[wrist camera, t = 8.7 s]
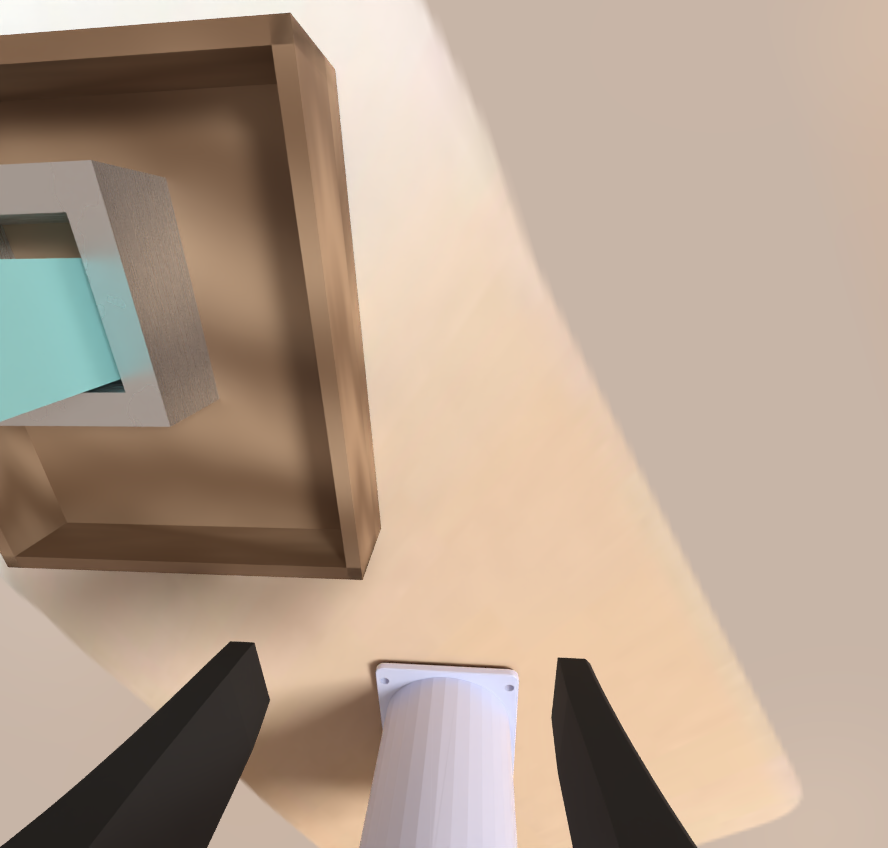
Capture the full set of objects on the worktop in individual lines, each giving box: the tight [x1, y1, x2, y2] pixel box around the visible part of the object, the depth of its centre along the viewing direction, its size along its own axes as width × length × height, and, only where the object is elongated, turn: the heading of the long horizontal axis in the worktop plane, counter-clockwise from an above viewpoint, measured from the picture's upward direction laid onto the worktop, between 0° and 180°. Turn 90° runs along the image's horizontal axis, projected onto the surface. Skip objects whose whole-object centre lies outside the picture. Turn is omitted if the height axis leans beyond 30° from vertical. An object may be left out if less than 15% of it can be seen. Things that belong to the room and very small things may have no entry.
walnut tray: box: [0, 13, 381, 580], centre depth 16 cm, size 18×16×4 cm
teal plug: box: [0, 258, 121, 422], centre depth 13 cm, size 4×4×7 cm
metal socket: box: [0, 160, 219, 427], centre depth 15 cm, size 8×8×3 cm
